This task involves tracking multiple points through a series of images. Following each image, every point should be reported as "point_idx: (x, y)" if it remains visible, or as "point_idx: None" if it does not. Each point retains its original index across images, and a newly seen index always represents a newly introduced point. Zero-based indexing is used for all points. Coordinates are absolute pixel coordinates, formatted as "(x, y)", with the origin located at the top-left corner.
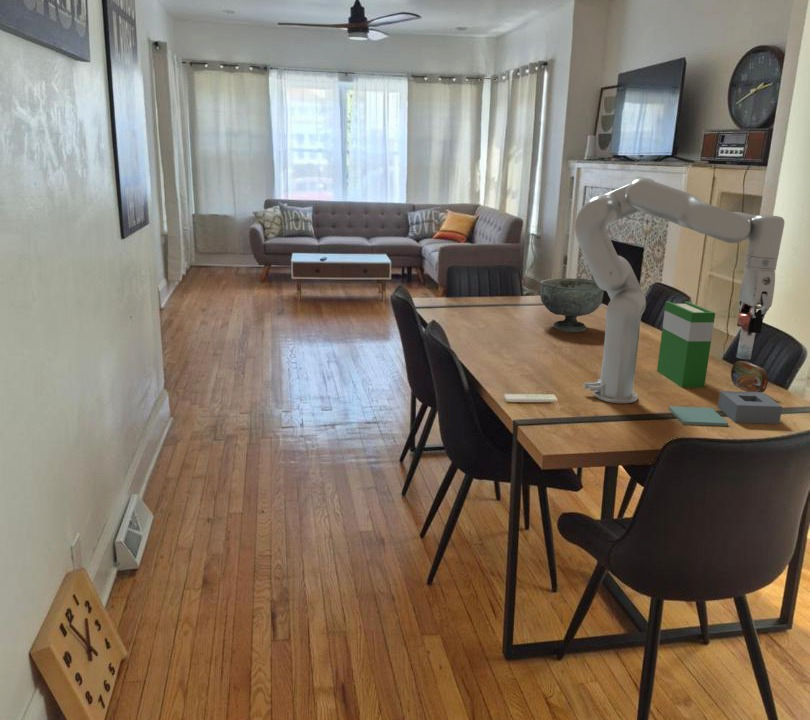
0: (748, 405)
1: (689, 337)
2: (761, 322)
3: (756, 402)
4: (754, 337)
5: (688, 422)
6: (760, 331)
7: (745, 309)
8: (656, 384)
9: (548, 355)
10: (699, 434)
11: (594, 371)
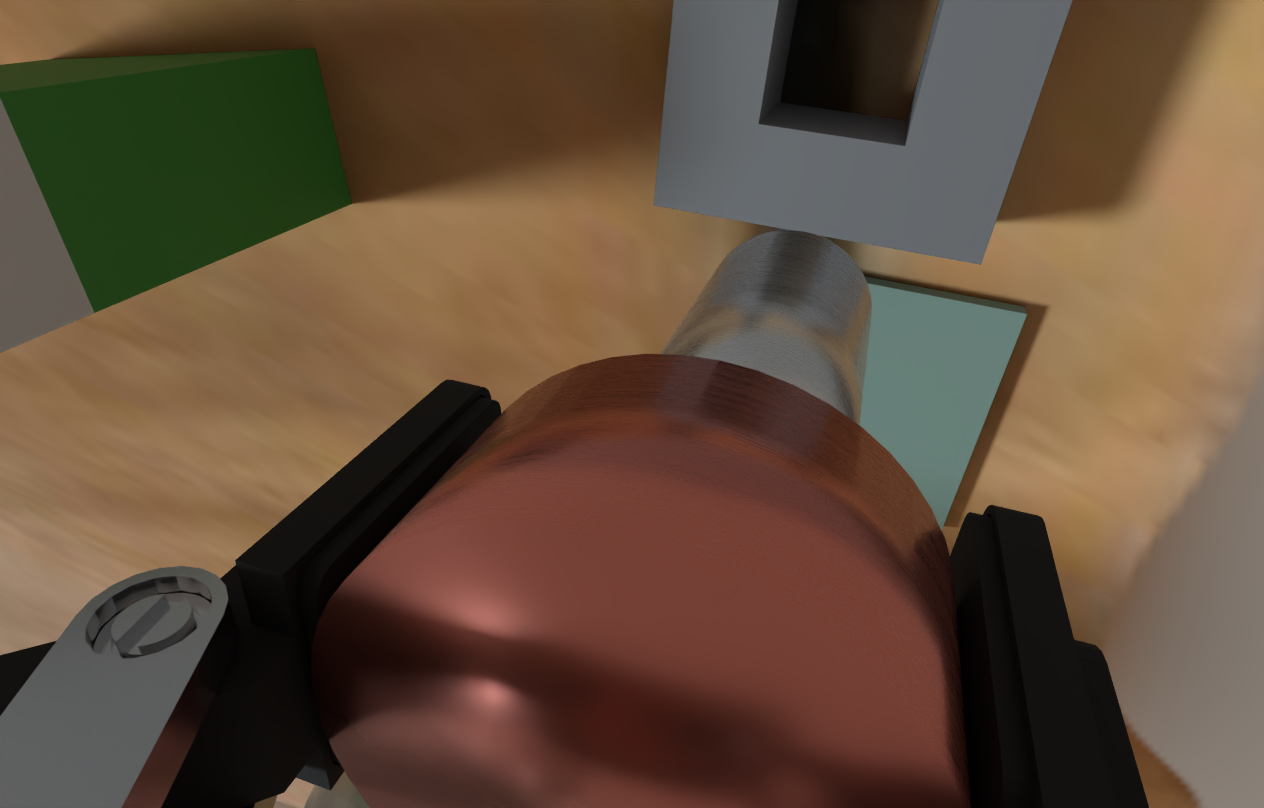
0: (1009, 178)
1: (59, 322)
2: (1079, 730)
3: (953, 58)
4: (818, 380)
5: (948, 510)
6: (1042, 530)
7: (232, 763)
8: (331, 318)
9: (81, 550)
10: (1106, 532)
11: (221, 492)
